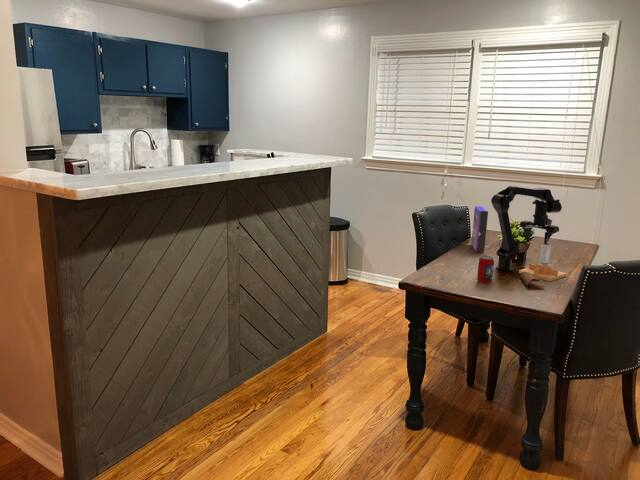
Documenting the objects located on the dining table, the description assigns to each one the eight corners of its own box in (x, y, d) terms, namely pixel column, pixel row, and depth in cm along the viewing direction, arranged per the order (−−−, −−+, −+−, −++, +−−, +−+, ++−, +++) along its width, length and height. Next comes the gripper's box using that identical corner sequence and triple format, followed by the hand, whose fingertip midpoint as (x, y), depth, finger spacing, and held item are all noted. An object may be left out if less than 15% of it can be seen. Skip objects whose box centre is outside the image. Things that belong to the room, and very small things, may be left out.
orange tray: (549, 281, 244) (550, 269, 242) (518, 273, 256) (520, 261, 255) (566, 276, 253) (568, 264, 252) (536, 268, 266) (537, 257, 264)
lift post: (545, 265, 251) (547, 245, 249) (538, 263, 254) (541, 244, 251) (548, 264, 253) (551, 244, 251) (542, 262, 256) (545, 243, 253)
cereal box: (471, 244, 315) (474, 205, 309) (479, 245, 314) (483, 206, 309) (475, 251, 298) (479, 210, 292) (484, 252, 297) (488, 211, 292)
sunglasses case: (546, 290, 230) (540, 277, 229) (531, 296, 232) (525, 284, 231) (538, 279, 247) (531, 266, 246) (523, 285, 249) (517, 273, 248)
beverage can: (489, 285, 235) (492, 260, 232) (475, 282, 238) (477, 257, 236) (493, 281, 241) (496, 256, 238) (479, 279, 244) (481, 254, 241)
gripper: (566, 214, 259) (562, 244, 262) (532, 209, 273) (529, 237, 277) (555, 216, 252) (550, 247, 256) (520, 210, 267) (517, 240, 270)
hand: (536, 242), depth 265 cm, fingers open, 9 cm apart
